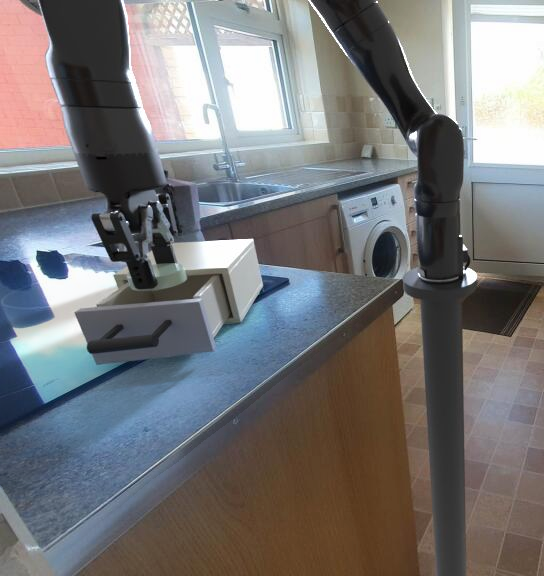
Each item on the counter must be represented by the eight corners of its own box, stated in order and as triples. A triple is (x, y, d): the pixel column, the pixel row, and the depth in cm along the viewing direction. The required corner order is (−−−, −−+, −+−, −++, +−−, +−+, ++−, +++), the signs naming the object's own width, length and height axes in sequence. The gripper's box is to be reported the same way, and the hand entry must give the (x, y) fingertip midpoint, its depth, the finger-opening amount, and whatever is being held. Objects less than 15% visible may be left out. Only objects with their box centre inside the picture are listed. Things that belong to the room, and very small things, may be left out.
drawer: (197, 375, 50) (181, 321, 47) (66, 392, 46) (39, 335, 43) (242, 306, 68) (232, 264, 65) (150, 315, 64) (135, 270, 61)
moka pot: (210, 255, 93) (186, 165, 86) (227, 274, 83) (201, 173, 75) (157, 264, 87) (126, 167, 79) (167, 285, 77) (133, 176, 69)
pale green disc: (194, 273, 59) (190, 261, 58) (177, 289, 54) (173, 276, 53) (143, 276, 57) (139, 264, 56) (121, 293, 52) (116, 280, 51)
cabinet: (241, 322, 65) (227, 267, 61) (134, 333, 60) (112, 274, 57) (263, 285, 78) (253, 239, 75) (177, 292, 74) (162, 243, 71)
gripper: (111, 144, 54) (150, 263, 60) (32, 153, 41) (92, 303, 48) (178, 145, 56) (209, 260, 63) (123, 154, 44) (169, 297, 50)
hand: (158, 278), depth 55 cm, fingers closed on pale green disc, 6 cm apart
